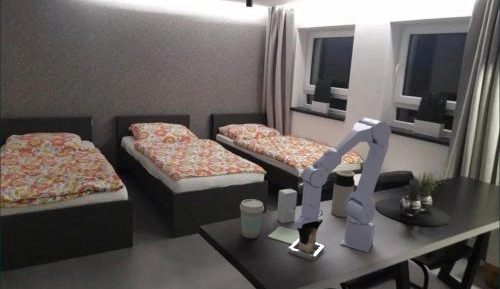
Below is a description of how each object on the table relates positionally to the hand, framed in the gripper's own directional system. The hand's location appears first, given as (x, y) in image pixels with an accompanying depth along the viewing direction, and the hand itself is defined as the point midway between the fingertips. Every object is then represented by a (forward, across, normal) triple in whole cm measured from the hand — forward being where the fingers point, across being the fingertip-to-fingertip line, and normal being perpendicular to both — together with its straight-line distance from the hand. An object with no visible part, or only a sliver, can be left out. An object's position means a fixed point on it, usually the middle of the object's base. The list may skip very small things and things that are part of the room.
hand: (307, 241), depth 125 cm
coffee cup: (+4, -4, +21) cm, 21 cm away
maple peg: (+3, 0, 0) cm, 3 cm away
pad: (+4, +4, +11) cm, 12 cm away
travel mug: (+4, +38, +6) cm, 38 cm away
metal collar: (+4, 0, 0) cm, 4 cm away
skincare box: (+4, +15, +18) cm, 24 cm away
